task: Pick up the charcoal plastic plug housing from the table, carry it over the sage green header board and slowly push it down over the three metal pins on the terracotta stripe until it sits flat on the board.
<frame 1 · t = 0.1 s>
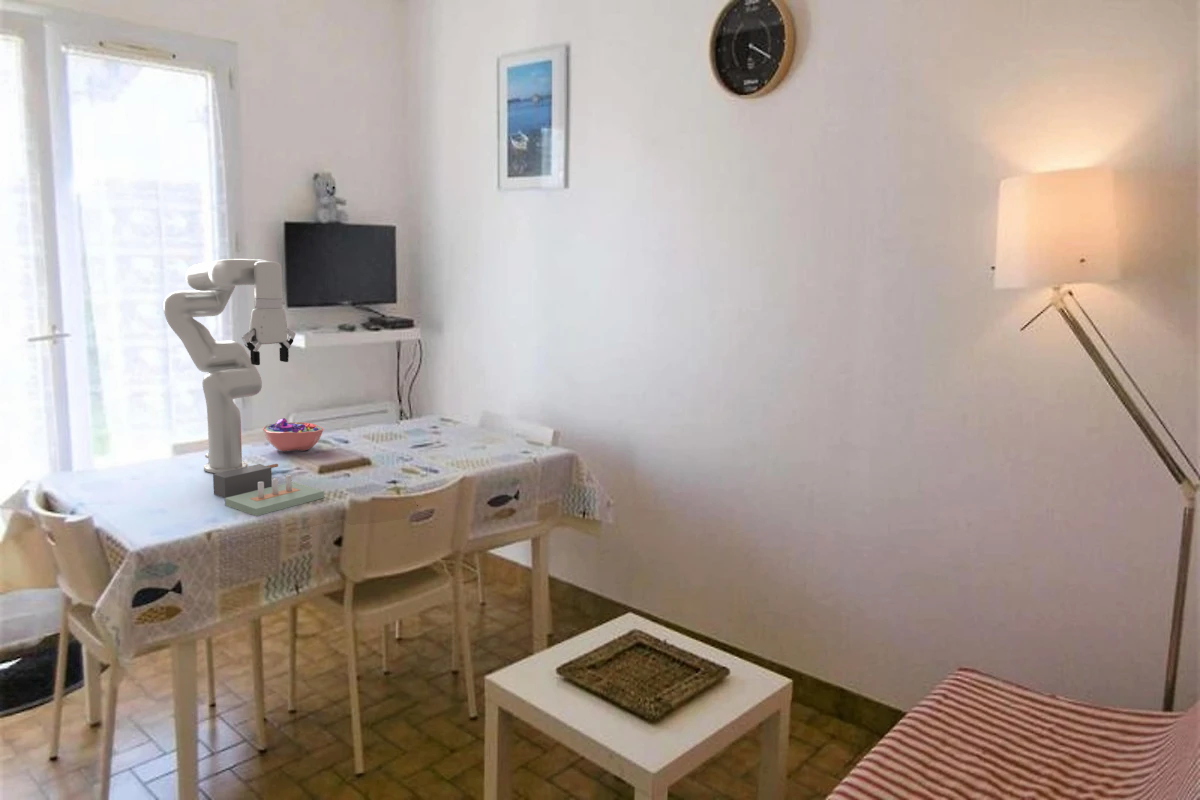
hand: (270, 363, 249), 37 cm above the table, tool pointing down, fingers open, 9 cm apart
header board: (275, 501, 239), on the table
plug housing: (243, 490, 247), on the table
cell model: (293, 451, 294), on the table
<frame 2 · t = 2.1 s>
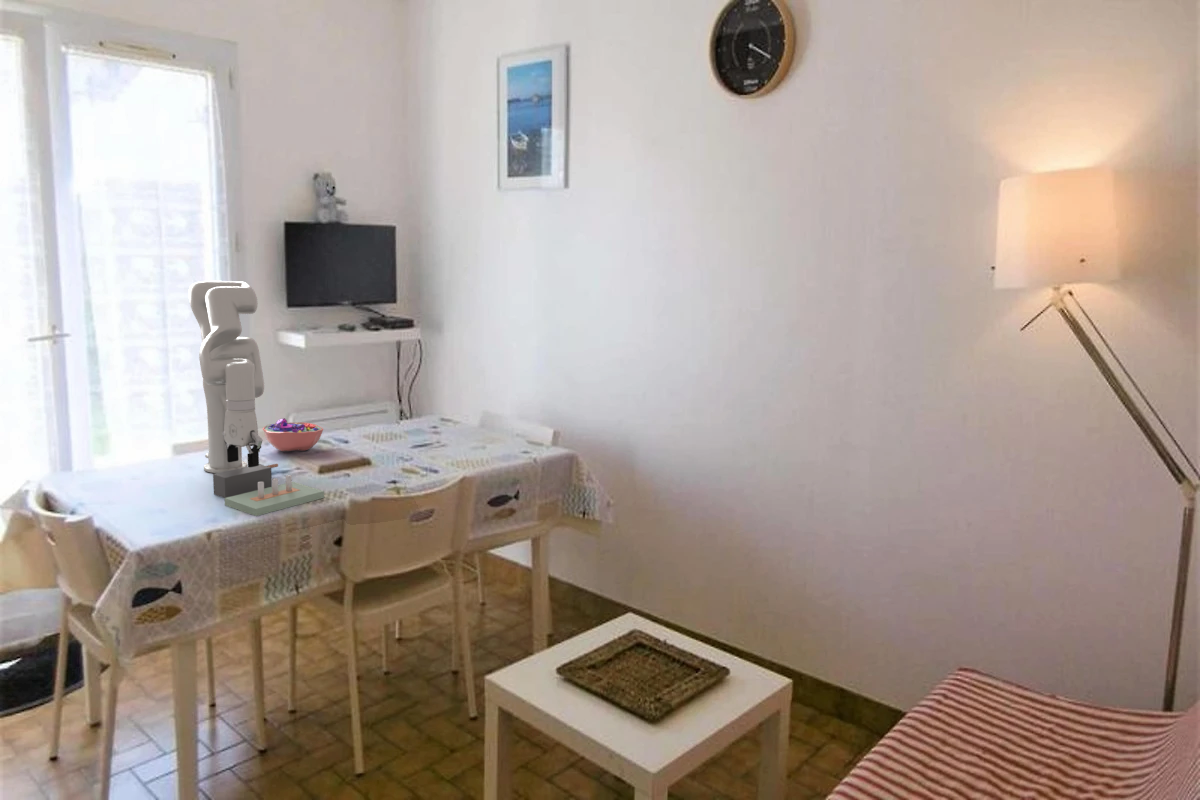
hand: (243, 463, 245), 8 cm above the table, tool pointing down, fingers open, 9 cm apart
nothing on the table moved.
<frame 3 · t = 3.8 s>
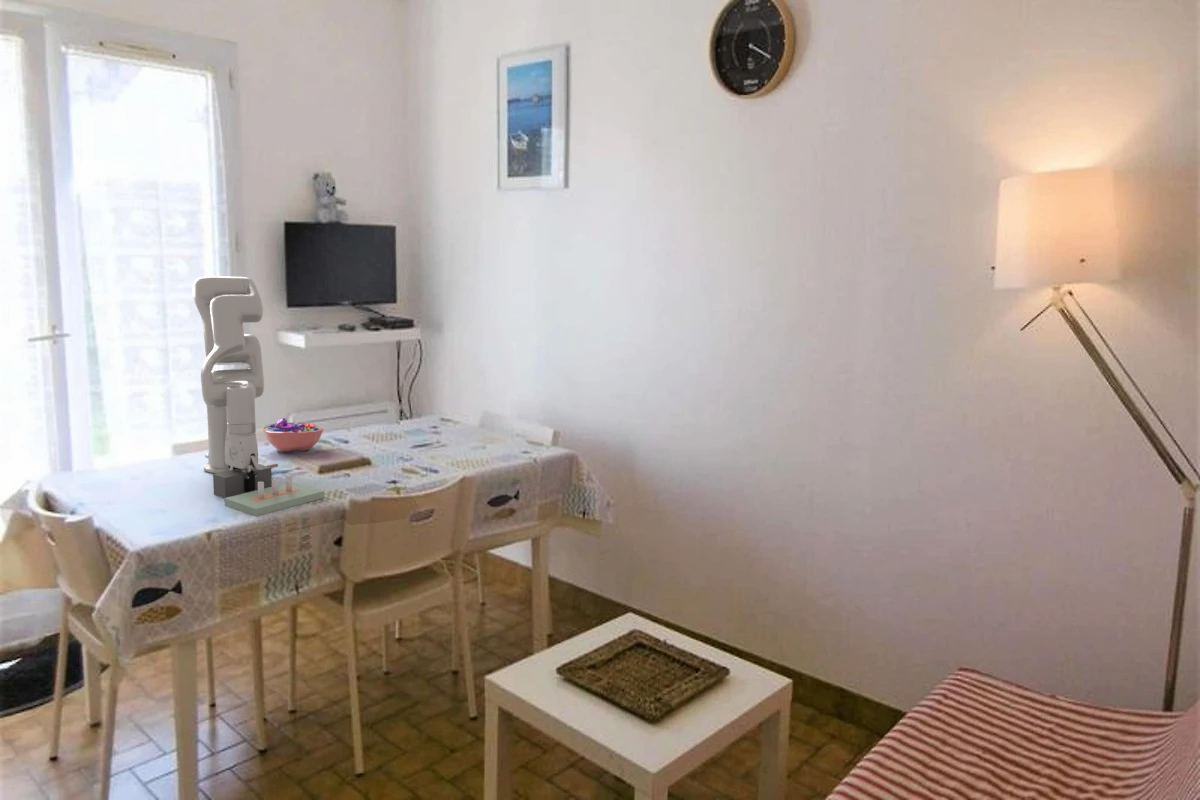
hand: (243, 488, 247), 1 cm above the table, tool pointing down, fingers closed on plug housing, 5 cm apart
plug housing: (243, 490, 247), on the table, touching gripper
everything else where it was.
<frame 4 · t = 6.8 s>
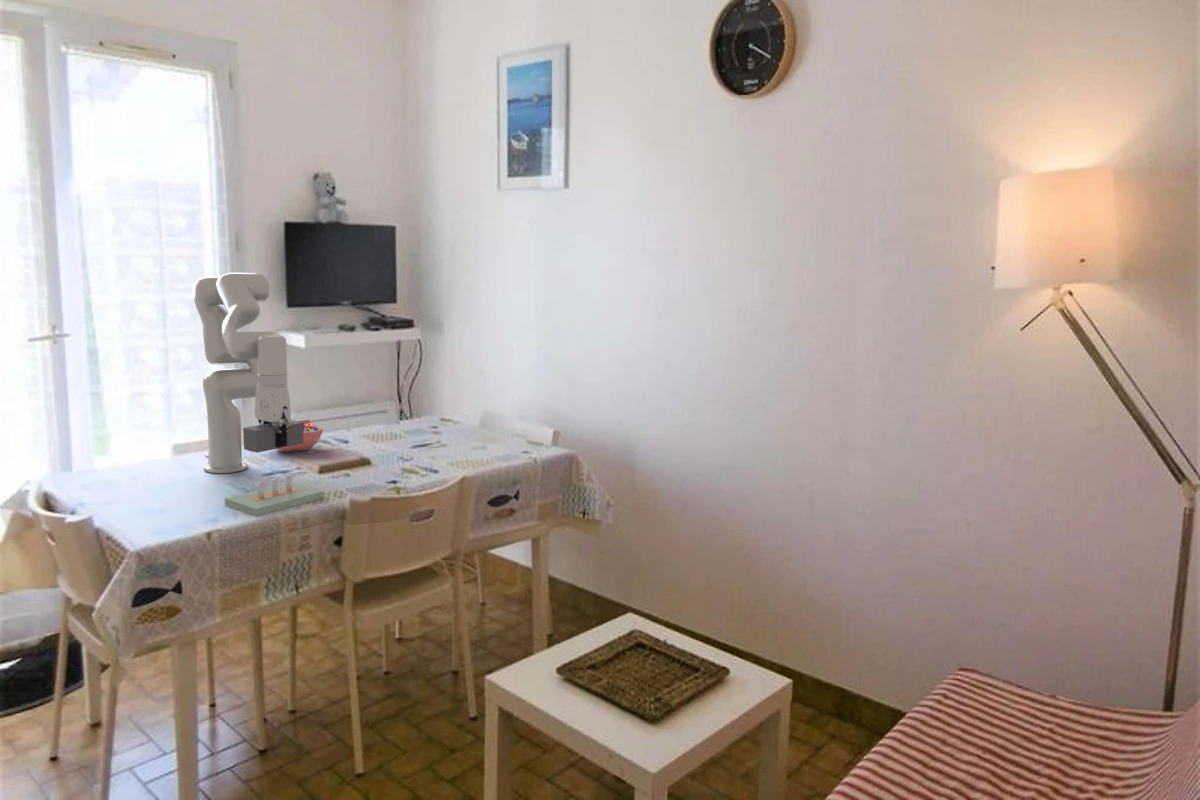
hand: (274, 443, 236), 17 cm above the table, tool pointing down, fingers closed on plug housing, 5 cm apart
plug housing: (274, 446, 236), point 16 cm above the table, touching gripper
everything else where it was.
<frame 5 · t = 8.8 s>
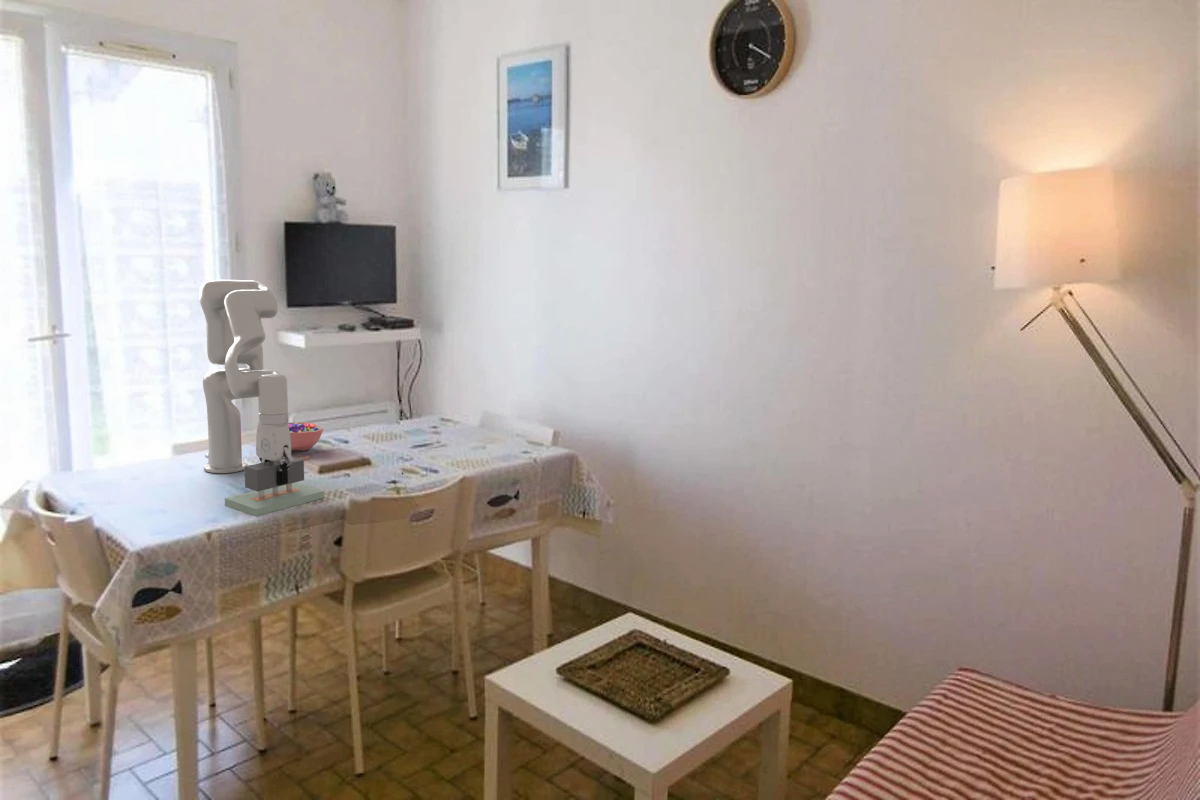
hand: (275, 481, 238), 6 cm above the table, tool pointing down, fingers closed on plug housing, 5 cm apart
plug housing: (275, 483, 238), point 5 cm above the table, touching gripper
everything else where it was.
when the fingers open (3 cm above the table, at t = 10.2 s): plug housing stays where it is, resting on header board.
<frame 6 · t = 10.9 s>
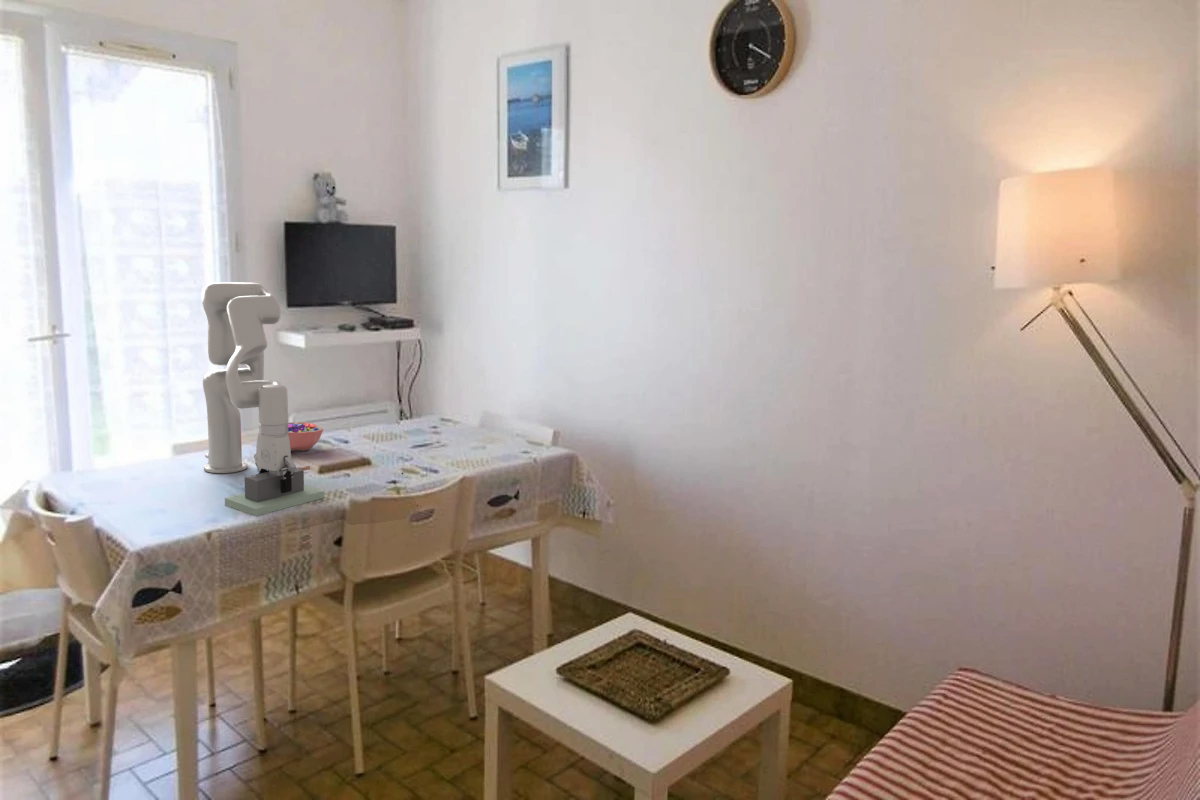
hand: (275, 488, 239), 4 cm above the table, tool pointing down, fingers open, 9 cm apart
plug housing: (275, 494, 239), point 2 cm above the table, touching header board
everything else where it was.
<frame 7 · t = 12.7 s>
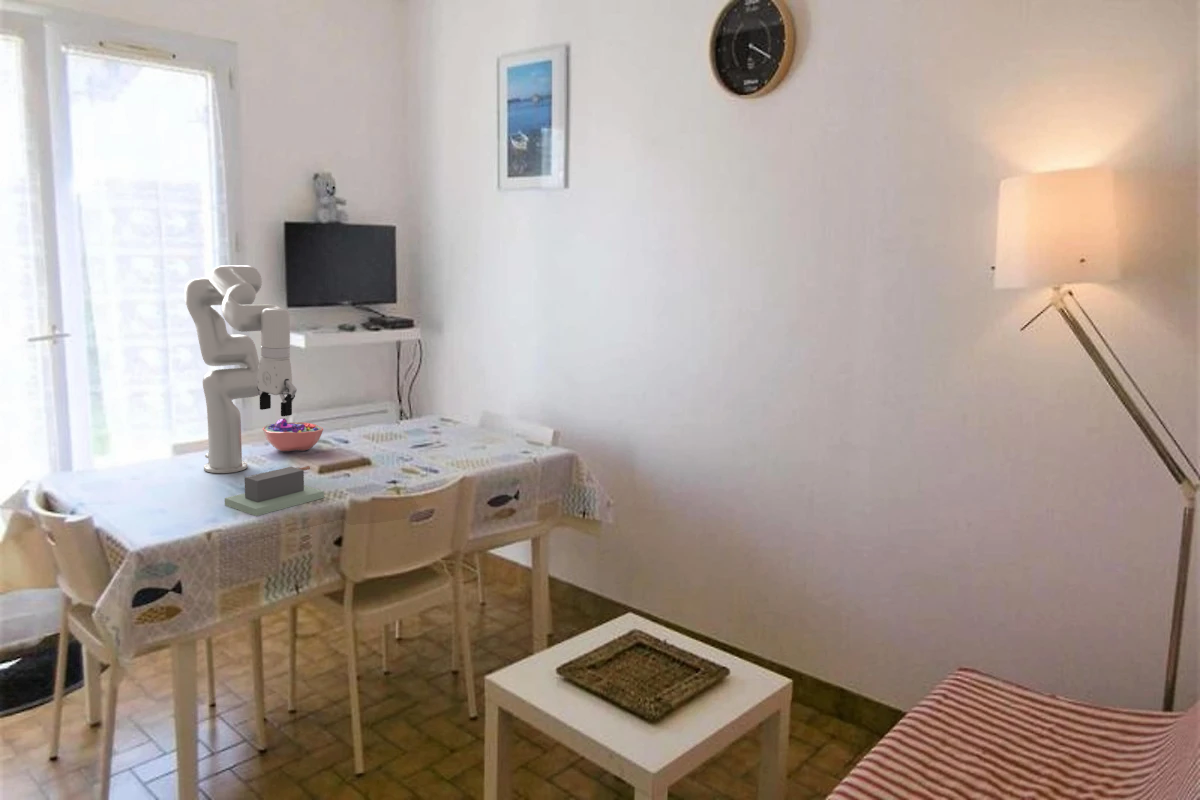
hand: (275, 412, 241), 24 cm above the table, tool pointing down, fingers open, 9 cm apart
nothing on the table moved.
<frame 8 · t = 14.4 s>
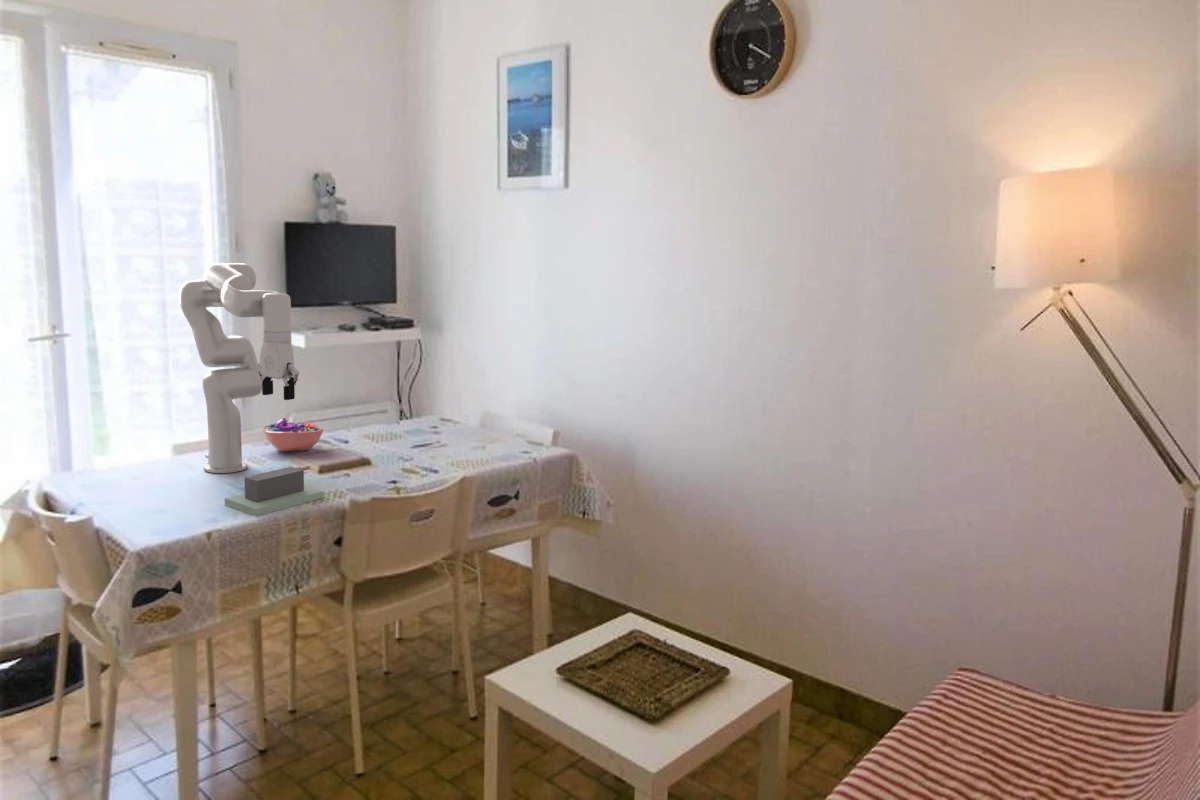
hand: (278, 396, 242), 28 cm above the table, tool pointing down, fingers open, 9 cm apart
nothing on the table moved.
at the end: plug housing 0.0 cm off-centre on the header board, point 2.1 cm above the header board's base; plug housing tilted 0°; the gripper is holding nothing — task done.
